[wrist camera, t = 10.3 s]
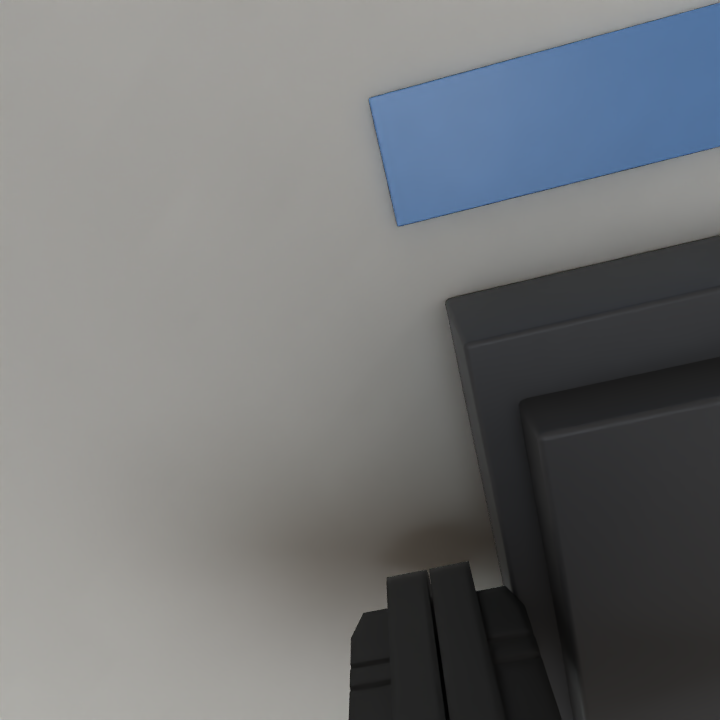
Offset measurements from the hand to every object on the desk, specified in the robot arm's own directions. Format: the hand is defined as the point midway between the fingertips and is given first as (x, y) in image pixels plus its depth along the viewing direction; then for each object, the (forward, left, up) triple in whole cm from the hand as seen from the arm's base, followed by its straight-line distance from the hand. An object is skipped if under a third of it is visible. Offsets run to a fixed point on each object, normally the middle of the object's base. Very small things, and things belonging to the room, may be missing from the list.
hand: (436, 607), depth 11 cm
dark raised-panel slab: (0, +4, -2) cm, 5 cm away
